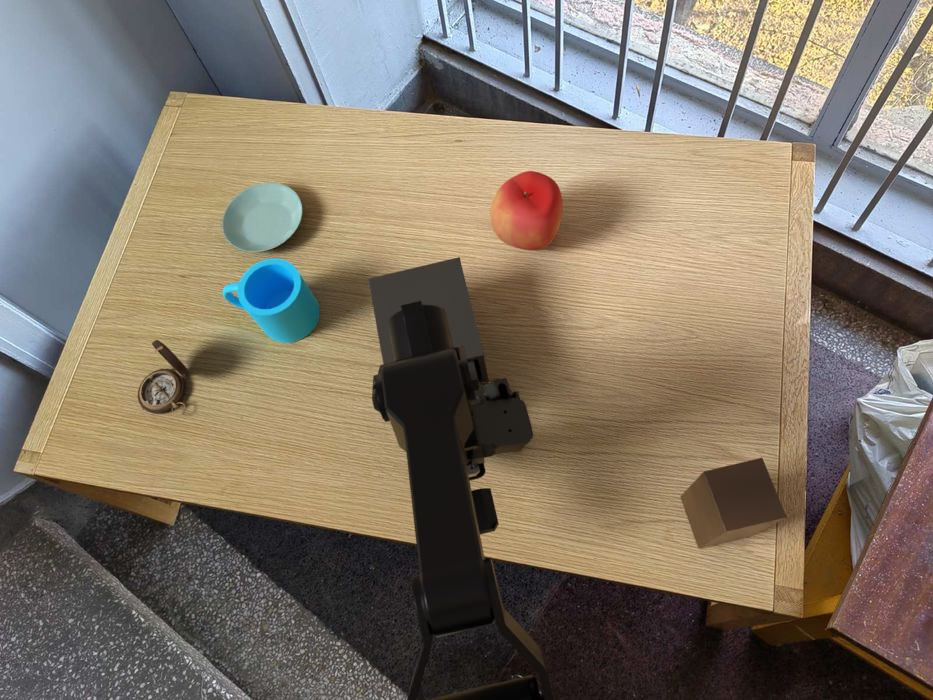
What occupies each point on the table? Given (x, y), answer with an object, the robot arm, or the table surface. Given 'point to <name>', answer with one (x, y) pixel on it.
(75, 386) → the table surface
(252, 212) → the saucer
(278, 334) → the mug
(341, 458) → the table surface
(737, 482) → the stand
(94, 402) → the table surface
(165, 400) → the compass
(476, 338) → the drawer cabinet
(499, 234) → the apple
